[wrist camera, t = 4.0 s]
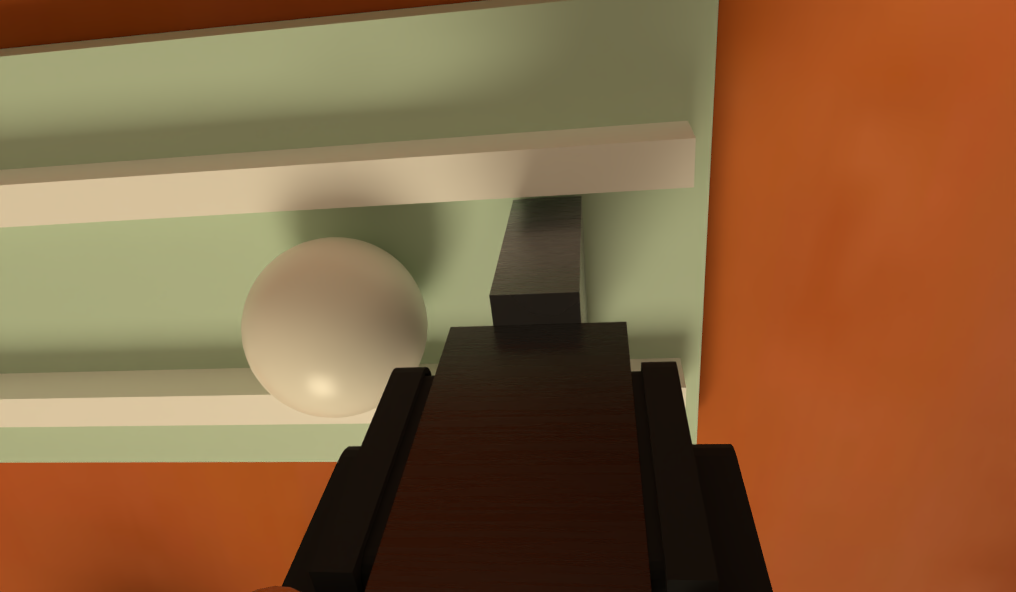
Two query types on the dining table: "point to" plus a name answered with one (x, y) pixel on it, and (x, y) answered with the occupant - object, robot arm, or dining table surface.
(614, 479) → the block
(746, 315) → the dining table surface
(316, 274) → the ball
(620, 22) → the pitch
